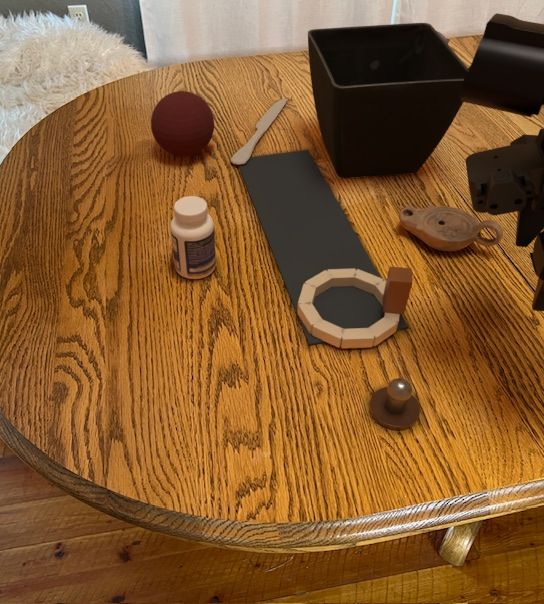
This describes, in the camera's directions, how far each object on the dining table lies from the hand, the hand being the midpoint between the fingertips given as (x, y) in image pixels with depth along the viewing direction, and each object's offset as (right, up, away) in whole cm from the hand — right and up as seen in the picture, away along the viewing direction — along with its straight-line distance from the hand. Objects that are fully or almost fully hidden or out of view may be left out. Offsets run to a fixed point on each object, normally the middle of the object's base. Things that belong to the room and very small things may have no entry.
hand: (528, 276), depth 58 cm
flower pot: (-6, +21, +38) cm, 44 cm away
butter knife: (-23, +27, +44) cm, 57 cm away
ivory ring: (-15, -4, +13) cm, 20 cm away
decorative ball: (-36, +22, +40) cm, 58 cm away
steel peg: (-12, -14, +4) cm, 19 cm away
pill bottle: (-33, +2, +20) cm, 39 cm away
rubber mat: (-18, +7, +25) cm, 32 cm away
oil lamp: (0, +6, +23) cm, 23 cm away
